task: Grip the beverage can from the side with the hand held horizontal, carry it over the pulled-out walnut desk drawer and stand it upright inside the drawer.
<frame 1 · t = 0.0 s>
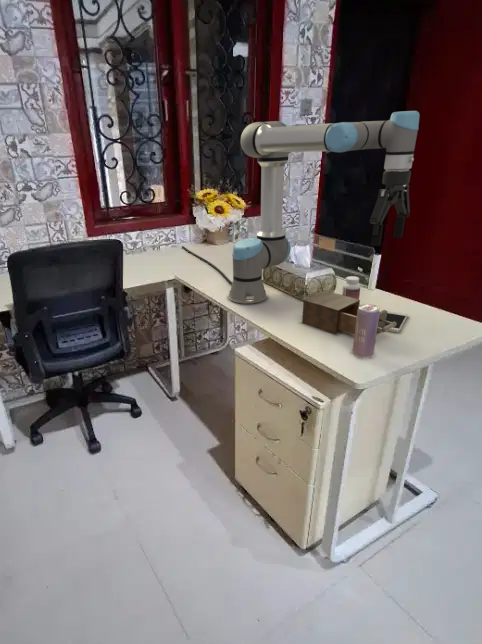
hand: (386, 241, 133), 28 cm above the table, tool pointing down, fingers open, 13 cm apart
beverage can: (362, 354, 125), on the table
pill bottle: (349, 306, 159), on the table
smartphone: (391, 322, 143), on the table
cabinet: (329, 323, 146), on the table
drawer: (365, 322, 134), point 4 cm above the table, slide at 9.0 cm
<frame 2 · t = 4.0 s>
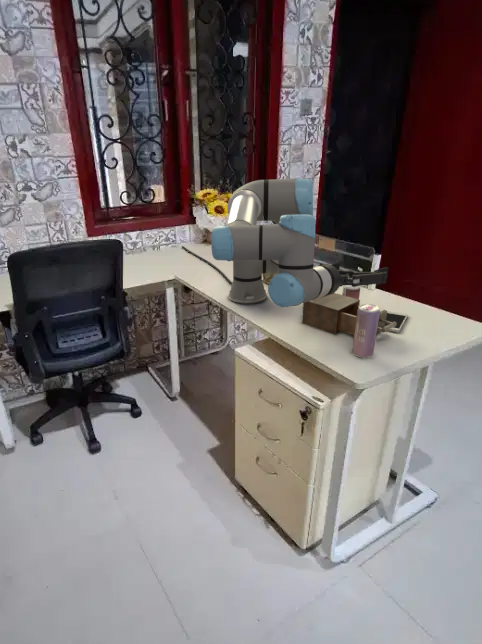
hand: (361, 270, 112), 27 cm above the table, tool horizontal, fingers open, 13 cm apart
nothing on the table moved.
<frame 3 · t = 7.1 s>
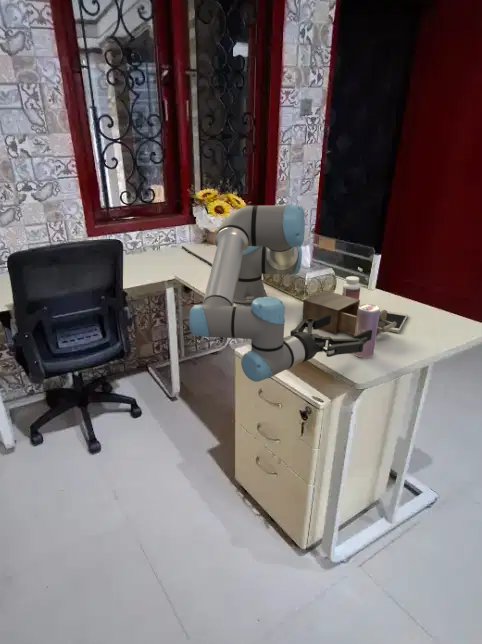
hand: (349, 326, 116), 12 cm above the table, tool horizontal, fingers open, 13 cm apart
nothing on the table moved.
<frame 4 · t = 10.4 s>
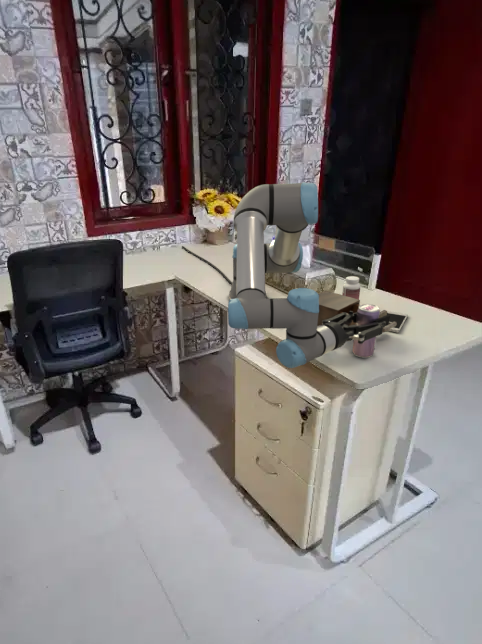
hand: (377, 315, 122), 11 cm above the table, tool horizontal, fingers closed on beverage can, 6 cm apart
beverage can: (362, 354, 125), on the table, touching gripper
everything else where it was.
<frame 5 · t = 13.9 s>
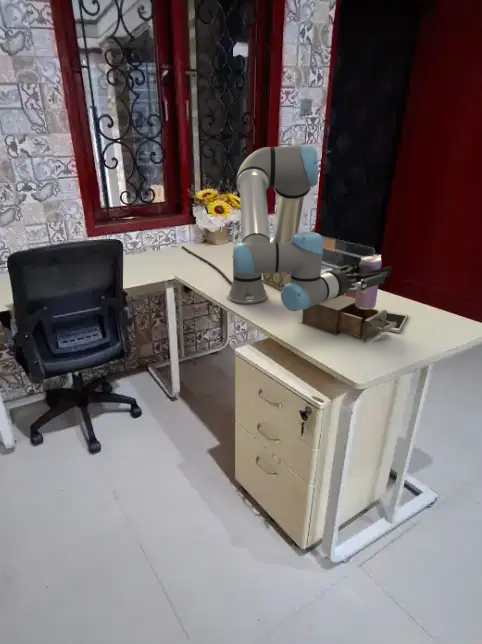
hand: (379, 268, 125), 23 cm above the table, tool horizontal, fingers closed on beverage can, 6 cm apart
beverage can: (364, 306, 128), point 12 cm above the table, touching gripper
everything else where it was.
when the fingers open (13 cm above the table, at t = 17.7 s): beverage can stays where it is, resting on drawer.
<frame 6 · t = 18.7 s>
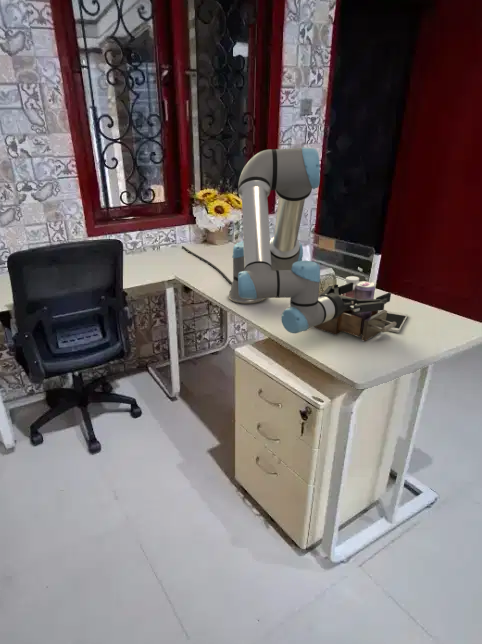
hand: (370, 291, 133), 14 cm above the table, tool horizontal, fingers open, 13 cm apart
beverage can: (359, 327, 137), point 2 cm above the table, touching drawer
drawer: (365, 322, 134), point 4 cm above the table, slide at 9.0 cm, touching beverage can
everything else where it was.
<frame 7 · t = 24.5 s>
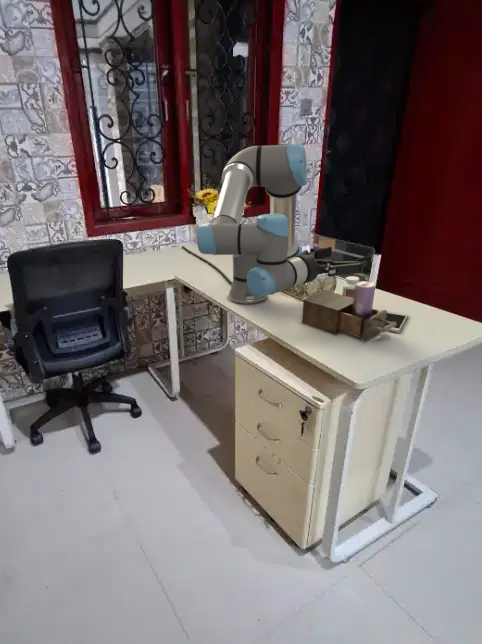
hand: (349, 255, 120), 28 cm above the table, tool horizontal, fingers open, 13 cm apart
nothing on the table moved.
at the end: drawer slide at 9.0 cm; beverage can inside the target area in the drawer (0.5 cm from its centre), point 1.9 cm above the cabinet's base; beverage can tilted 0° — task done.
